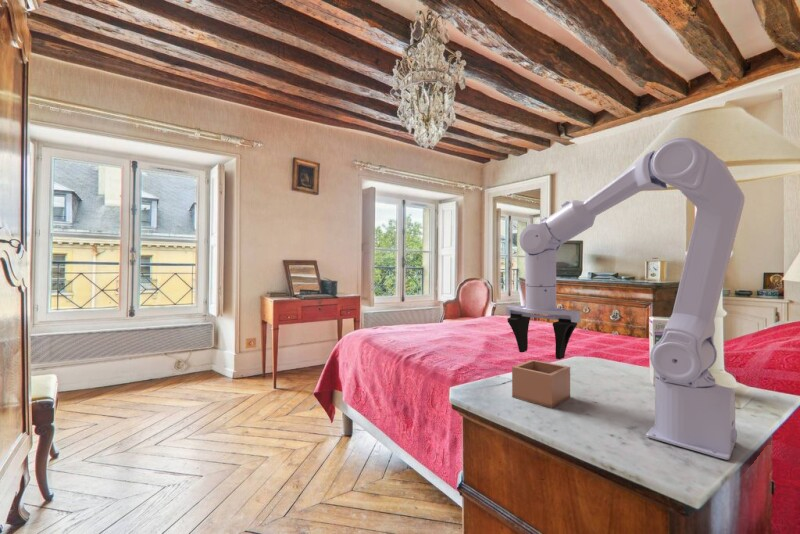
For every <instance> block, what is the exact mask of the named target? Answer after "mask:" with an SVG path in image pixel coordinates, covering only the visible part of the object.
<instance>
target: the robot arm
mask: <svg viewBox="0 0 800 534" xmlns="http://www.w3.org/2000/svg"><path fill="white" fill-rule="evenodd" d="M667 185H668V186H671V187H674V188H675V189H677V190H679V191H680V192H681V194H682V195H684V197H686V198H687V200H688V201H690V202H691V203H692V204H693V205H694V206H695V207H696V213H695V217H694V221H693V225H692V230H691V234H690V237H689V243H688V246H687V251H686V255H685V258H684V259H685V260H684V263H683V266H682V267H683V268H682V273H681V275H680V281H679V284H678V289H677V293H676V297H675V301H674V304H673V310H672V313H671V315H670V316H669V317H670V319H669V321H668V322H667V324H666V326H665V328H664V332H663V336H662V338H661V339H660V340H659V341H658V342H657V343H656V344H655V345H654V346H653V348H652V350H651V353H650V352H649V360H650V359H651V363H652V366H653V368H654V369H655V370H656V371H655V386H654V424H653V426H652V427H651V428H650V429H649V430H648V431H647V432H646V433H645V434H646V437H647V438H650V439H652V440H656V441H659V442H664V443H666V444H670V445H673V446H677V447H681V448H684V449H688V450H691V451H695V452H698V453H702V454H704V455H708V456H712V457H715V458H718V459H723V460H725V461H726V460H730V458H731V457H732V456H731V455H732V453H733V451H734V447H735V445H736V443H737V438H738V433H737V432H738V431H737V429H736V394H735V389H734V388H732V387H728V386H723V385H720V384H717V383H716V378H715V377H714V376H713V375H712V373H711V371H709V369H710V368H712V367H713V366H714V365H715V363H716V362H717V358H718V353H717V352H718V351H717V349H716V345H715V343H714V341H715V340H714V335H715V332H716V326H715V317H716V314H717V312H718V311H717V310H718V305H719V301H720V298H721V294H722V290H723V287H724V284H725V280H726V279H725V278H726V275H727V273H728V272H727V271H728V268H729V263H730V259H731V256H732V253H733V248H734V244H735V241H736V237H737V232H738V227H739V225H740V221H741V216H742V212H743V209H744V205H745V195H744V193H743V191H742V189H741V188H740V186H739V185H738V182H737V181H736V179H735V178H734V176H733V175H732V173H731V171H730V170H729V168H728V166H727V163H726V162H725V161H724V160H722V159H721V158H720V157H718V156H717V155H716V154H715V152H713V151H712V150H711V149H709V148H707V147H706V146H705V145H703V144H701V143H700V142H698V141H697V140H695V139H693V138H690V137H676V138H672V139H670V140H668V141H665V142H664V143H662V144H661V145H660V146H659V147H658V148H657V149H656V150H651V151H650V152H649V151H648V152H647V153H646V154H644V155H643V156H642V157H641V158H639V160H637V162H635V163H634V164H633V165H631V166H630V167H629V168H628V169H626V170H625V171H623V172H622V173H620V175H618V176H617V177H616V178H614V179H613V180H611V181H610V182H609V183H607V184H606V185H604V186H603V187H602V188H600V189H598V190H597V191H596V192H595V193H593V194H592V195H591V196H588V197H587V198H586V199H585V200H583V201H582V200H576V199H574V200H573V199H572V200H571V201H564V202H562V203H561V208H560V209H557V211H556V212H554V213H552V214H551V215H549V216H548V217H546V216H545V217H543V218H541V219H540V223H529V224H527V225H526V226H525V227H524V228H523V229H522V231H521V232H520V235H519V239H518V240H519V245H520V247H521V250H523V252H524V255H525V256H524V257H525V259H524V260H525V261H524V264H525V270H524V271H525V272H524V273H525V275H524V277H525V281H524V282H525V284H524V285H525V305H515V304H514V305H512V304H509V305H505V316H510V317H507V320H506V321H507V323H508V325H509V326H510V328H511V331H512V333H513V334H514V337H515V341H516V344H517V348H518V352H519V353H525V352H527V351H528V345H529V343H528V342H529V340H528V339H529V327H530V321H531V318H536V319H544V320H545V319H547V320H554V321H553V322H552V327H553V331H554V340H555V359H556V360H563V359H565V355H566V351H567V347H568V344H569V341H570V338H571V336H572V334H573V333H574V331H575V329H576V327H577V325H578V323H579V322H581V321H582V320H581V319H582V318H581V315H582V314H581V313H582V312H581V311H580V310H573V309H572V310H571V309H565V308H559V307H558V308H557V253H558V252H559V250H560V249H561V247H562V245H563V244H564V243H566V242H568V241H570V240H571V239H573V238H575V237H577V236H578V235H580V234H582V233H583V232H585V231H587V230H588V229H590V228H592V227H593V226H594V223H595V220H596V217H597V216H598V215H600V214H602V213H604V212H606V211H608V210H609V209H611V208H613V207H614V206H617V205H618V204H620V203H622V202H623V201H625V200H627V199H629V198H631V197H633V196H635V195H636V194H639V193H640V192H643V191H660V190H661V191H662V190H667V189H668V187H667ZM555 320H556V321H555Z"/></svg>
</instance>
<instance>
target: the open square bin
mask: <svg viewBox="0 0 800 534" xmlns="http://www.w3.org/2000/svg"><path fill="white" fill-rule="evenodd" d="M539 371H543V372H547V373H543V372H539ZM548 373H549V374H548ZM511 384H512V385H511V387H512V388H511V398H515V399H518V400H521V401H525V402H529V403H532V404H535V405H539V406H542V407H546V408H549V409H553V408H555V407H557V406H558V405H561V403H563V402H565V401H567V400H569V399H570V398H571V366H566V365H562V364H555V363H552V362H546V361H542V360H541V361H540V360H536V359H530V360H528V361H525V362H521V363H519V364H516V365H514V366H512V367H511Z"/></svg>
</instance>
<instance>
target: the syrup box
mask: <svg viewBox="0 0 800 534" xmlns="http://www.w3.org/2000/svg"><path fill="white" fill-rule="evenodd" d="M670 317H671V316H669V317H668V316H649V317H648V318H649V319H648V325H649V326H648V329H649V330H648V332H649V334H648V335H649V337H648V339H649V341H648V342H649V354H650V353H651V350H652V348H653V346H654V345H655V344H656V343H657V342H658V341H659V340H660V339H661V338H662V336H663V332H664V328H665V326H666V324H667V322H668V321H669V319H670ZM655 371H656V370H655V369H654V368H653V366H652V363H651V359H650V358H649V380H650V382H651V384H652V386H653V387H655Z"/></svg>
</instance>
